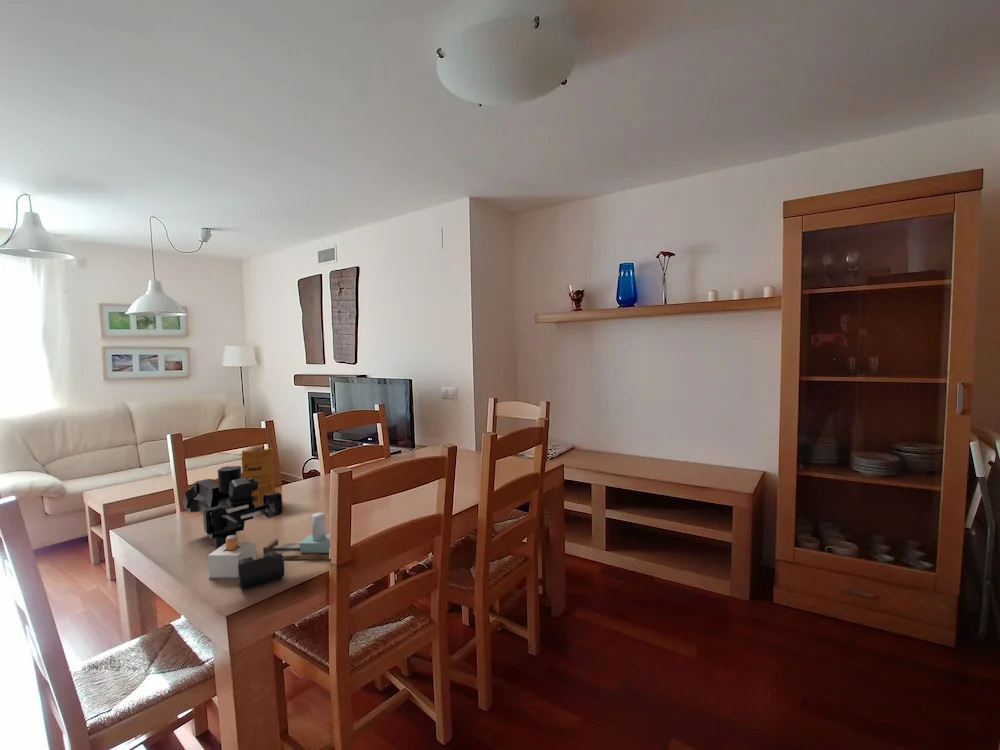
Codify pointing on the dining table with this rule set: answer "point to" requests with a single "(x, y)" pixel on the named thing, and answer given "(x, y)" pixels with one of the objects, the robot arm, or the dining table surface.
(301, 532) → the dining table surface
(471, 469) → the dining table surface
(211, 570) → the cabinet
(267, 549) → the rail
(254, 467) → the coffee package
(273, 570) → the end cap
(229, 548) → the cylinder
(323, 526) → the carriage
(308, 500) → the dining table surface
